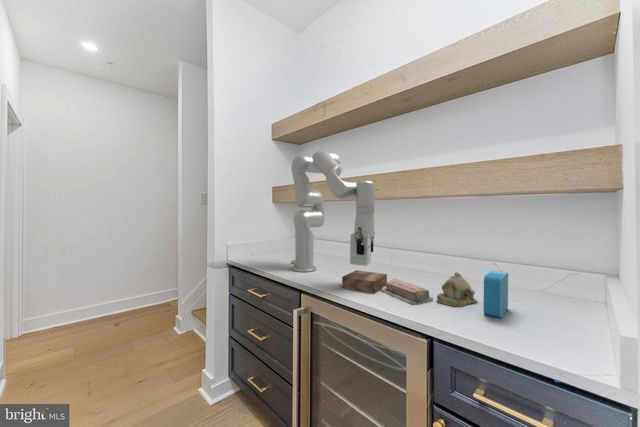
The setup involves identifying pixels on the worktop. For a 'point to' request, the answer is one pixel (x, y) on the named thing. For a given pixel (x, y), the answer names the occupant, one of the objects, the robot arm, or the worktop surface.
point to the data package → (495, 293)
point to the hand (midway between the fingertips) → (365, 252)
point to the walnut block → (364, 281)
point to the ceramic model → (456, 292)
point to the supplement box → (360, 259)
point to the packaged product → (407, 292)
